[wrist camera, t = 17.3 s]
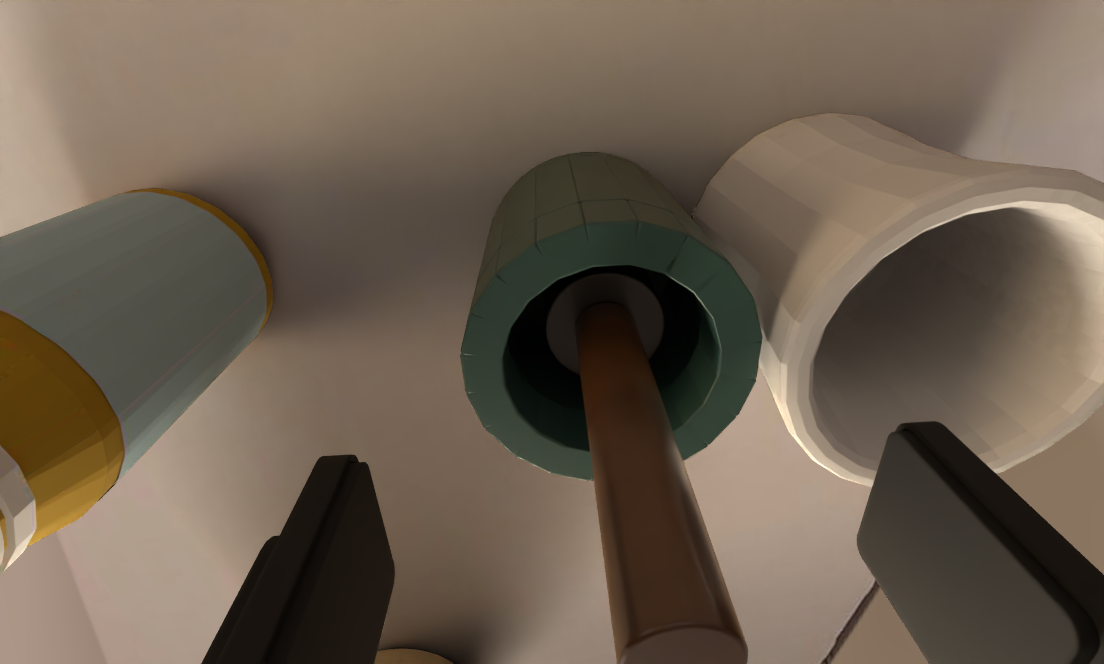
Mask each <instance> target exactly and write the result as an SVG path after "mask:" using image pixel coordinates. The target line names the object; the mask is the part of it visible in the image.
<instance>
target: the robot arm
mask: <svg viewBox="0 0 1104 664" xmlns="http://www.w3.org/2000/svg"><path fill="white" fill-rule="evenodd" d="M857 546H858V550H859V553H860V555H861V557H862V559H863V560H864V562H865V564H866V565H867V567H868V568H869V570H870V571H871V573H872V575H873V576H874V578H875V579H876V581H877V582H878V584H879V586H880V587H881V589H882V590H883V592H884V593H885V595H886V596H887V598H888V600H889V601H890V603H891V604H892V606H893V608H894V609H895V611H896V612H897V614H898V615H899V617H900V619H901V620H902V622H903V623H904V625H905V627H906V628H907V630H908V631H909V633H910V634H911V636H912V637H913V639H914V641H915V642H916V644H917V645H918V647H919V648H920V650H921V652H922V653H923V655H924V656H925V658H926V659H927V661H928V663H929V664H1104V575H1103V574H1102V573H1101V572H1100V571H1099V570H1098V569H1097V568H1096V567H1094V565H1092V564H1091V563H1090V562H1089V561H1088V560H1087V559H1086V558H1085V557H1084V556H1083V555H1082V554H1081V553H1080V552H1079V551H1077V550H1076V549H1075V548H1074V547H1073V546H1072V545H1071V544H1070V543H1069V542H1068V541H1067V540H1066V539H1065V538H1064V537H1063V536H1062V535H1060V533H1058V532H1057V531H1056V530H1055V529H1054V528H1053V527H1052V526H1051V525H1050V524H1049V523H1048V522H1047V521H1046V520H1045V519H1044V518H1043V517H1041V516H1040V515H1039V514H1038V513H1037V512H1036V511H1035V510H1034V509H1033V508H1032V507H1031V506H1029V504H1027V502H1026V501H1024V500H1023V499H1022V498H1021V497H1020V496H1019V495H1018V494H1017V493H1016V492H1015V491H1014V490H1013V489H1012V488H1011V487H1010V486H1009V485H1007V484H1006V483H1005V482H1004V481H1003V480H1002V479H1001V478H1000V477H999V476H998V475H997V474H996V473H995V472H994V471H993V470H991V469H990V468H989V467H988V466H987V465H986V464H985V463H984V462H983V461H982V460H981V459H980V458H979V457H978V456H977V455H976V454H974V453H973V452H972V451H971V450H970V449H969V448H968V447H967V446H966V445H965V444H964V443H963V442H962V441H961V440H960V439H959V438H957V437H956V436H955V435H954V434H953V433H952V432H951V431H950V430H949V429H948V428H947V427H946V426H944V425H943V424H942V423H940V422H936V421H927V422H910V423H902V424H900V425H899V426H898V427H897V429H896V431H895V432H891V433H890V434H889V436H888V438H887V441H886V444H885V447H884V450H883V454H882V457H881V460H880V463H879V467H878V470H877V473H876V476H875V480H874V483H873V486H872V489H871V493H870V496H869V499H868V502H867V506H866V509H865V512H864V515H863V518H862V522H861V525H860V528H859V531H858V535H857ZM394 578H395V567H394V561H393V558H392V554H391V550H390V546H389V542H388V538H387V535H386V531H385V527H384V523H383V519H382V516H381V512H380V508H379V504H378V500H377V496H376V493H375V489H374V485H373V481H372V477H371V473H370V470H369V466H368V464H367V463H366V462H359V461H358V459H357V457H356V456H355V455H334V456H322V457H320V458H319V459H318V460H317V462H316V464H315V466H314V468H313V470H312V472H311V474H310V476H309V478H308V480H307V482H306V484H305V486H304V488H303V490H302V492H301V494H300V496H299V498H298V500H297V502H296V504H295V506H294V508H293V510H292V512H291V514H290V516H289V518H288V520H287V522H286V524H285V526H284V528H283V530H282V532H281V534H280V536H272V537H271V538H270V539H269V540H267V541H266V543H265V544H264V546H263V547H262V549H261V550H260V552H259V554H258V556H257V558H256V560H255V562H254V564H253V566H252V568H251V570H250V571H249V573H248V575H247V577H246V579H245V581H244V583H243V585H242V587H241V589H240V591H239V592H238V594H237V596H236V598H235V600H234V602H233V604H232V606H231V608H230V610H229V612H228V614H227V615H226V617H225V619H224V621H223V623H222V625H221V627H220V629H219V631H218V633H217V635H216V636H215V638H214V640H213V642H212V644H211V646H210V648H209V650H208V652H207V654H206V656H205V658H204V659H203V661H202V663H201V664H374V662H375V658H376V654H377V650H378V646H379V642H380V638H381V634H382V630H383V626H384V622H385V618H386V614H387V610H388V605H389V601H390V597H391V593H392V589H393V585H394Z"/></svg>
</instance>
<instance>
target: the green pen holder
mask: <svg viewBox="0 0 1104 664" xmlns="http://www.w3.org/2000/svg"><path fill="white" fill-rule="evenodd" d="M619 265H632V266H636V267H640V268H644V269H646V271H647V274H648V276H649V278H650V280H651V282H652V284H653V286H654V289H655V291H656V293H657V295H658V297H659V299H660V301H661V303H662V306H663V309H664V314H665V331H664V335H663V338H662V341H661V343H660V345H659V347H658V349H657V350H656V352H655V353H654V355H653V356H652V357H651V358H650V359H649V360H648V361H649V364H650V366H651V369H652V372H653V375H654V378H655V381H656V384H657V387H658V390H659V393H660V395H661V398H662V401H663V404H664V407H665V410H666V413H667V416H668V419H669V421H670V424H671V427H672V430H673V433H674V436H675V439H676V442H677V445H678V448H679V450H680V453H681V456H682V459H683V460H685V459H687V458H689V457H690V456H692V455H694V454H695V453H697V452H699V451H701V450H702V449H704V448H706V447H707V444H710V443H711V442H712V441H713V440H714V439H715V438H716V437H717V436H718V435H719V434H720V433H721V432H722V431H723V430H724V429H725V428H726V427H727V426H728V425H729V424H730V423H731V422H732V421H733V420H734V419H735V418H736V415H738V414H739V412H740V411H741V409H742V407H743V405H744V403H745V401H746V399H747V397H748V395H749V394H750V392H751V390H752V388H753V386H754V384H755V382H756V377H757V371H758V365H759V358H760V352H761V345H762V339H763V336H762V331H761V327H760V322H759V318H758V313H757V309H756V304H755V300H754V298H753V296H752V294H751V293H750V291H749V290H748V288H747V287H746V285H745V284H744V282H743V281H742V279H741V278H740V276H739V275H738V274H737V272H736V271H735V269H734V268H733V266H732V265H731V263H730V262H729V261H728V260H727V259H726V257H725V256H724V255H723V254H722V253H721V252H720V250H719V249H718V248H717V247H716V246H715V245H714V243H713V242H712V241H711V240H710V239H709V238H708V237H707V235H706V234H705V233H704V232H703V231H702V230H701V228H700V227H699V226H698V225H697V224H696V223H695V222H694V220H693V219H692V218H691V217H690V216H689V215H688V213H687V212H686V211H685V210H684V209H683V208H682V206H681V205H680V204H679V203H678V202H677V201H676V200H675V198H674V197H673V196H672V195H671V194H670V193H669V191H668V190H667V189H666V188H665V187H664V186H663V185H662V184H661V182H659V181H658V180H657V179H655V178H654V177H653V176H652V175H651V174H650V173H649V172H647V171H646V170H645V169H643V168H641V167H640V166H638V165H637V164H635V163H633V162H631V161H629V160H626V159H624V158H621V157H618V156H614V155H611V154H605V153H598V152H581V153H572V154H567V155H563V156H559V157H556V158H553V159H551V160H549V161H546V162H544V163H542V164H540V165H538V166H537V167H535V168H533V169H532V170H530V171H529V172H528V173H526V174H525V175H524V176H522V177H521V178H520V179H519V180H518V181H517V182H516V183H515V184H514V185H513V186H512V187H511V189H510V190H509V191H508V193H507V194H506V195H505V197H504V198H503V200H502V202H501V203H500V205H499V207H498V209H497V211H496V214H495V216H494V218H493V220H492V224H491V228H490V232H489V236H488V240H487V244H486V248H485V252H484V256H483V260H482V264H481V268H480V272H479V276H478V280H477V284H476V288H475V292H474V296H473V300H472V304H471V308H470V312H469V316H468V320H467V324H466V329H465V333H464V337H463V342H462V346H461V355H460V358H461V365H462V372H463V379H464V386H465V391H466V395H467V397H468V399H469V401H470V403H471V405H472V406H473V408H474V410H475V412H476V414H477V416H478V418H479V419H480V421H481V423H482V425H483V427H484V428H485V429H486V430H487V431H488V432H489V433H490V434H491V435H492V436H493V437H494V438H495V439H496V440H497V441H498V442H500V443H501V444H502V445H503V446H504V447H505V448H506V449H507V450H508V451H509V452H510V453H511V454H514V455H515V456H516V457H518V458H520V459H522V460H524V461H526V462H528V463H530V464H532V465H534V466H536V467H538V468H540V469H542V470H544V471H547V472H550V473H551V474H555V475H560V476H566V477H571V478H576V479H581V480H586V481H589V480H591V481H594V478H593V470H592V462H591V454H590V447H589V439H588V431H587V423H586V415H585V407H584V399H583V392H582V384H581V376H580V375H578V374H575V373H573V372H571V371H569V370H568V369H567V368H565V367H564V366H563V365H561V364H560V363H559V362H558V361H557V360H556V358H555V357H554V356H553V354H552V353H551V351H550V349H549V347H548V345H547V342H546V338H545V331H544V290H545V289H546V288H548V287H549V286H550V285H552V284H553V283H554V282H556V281H557V280H558V279H561V278H564V277H566V276H569V275H572V274H575V273H578V272H580V271H583V270H586V269H589V268H592V267H599V266H619Z"/></svg>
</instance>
